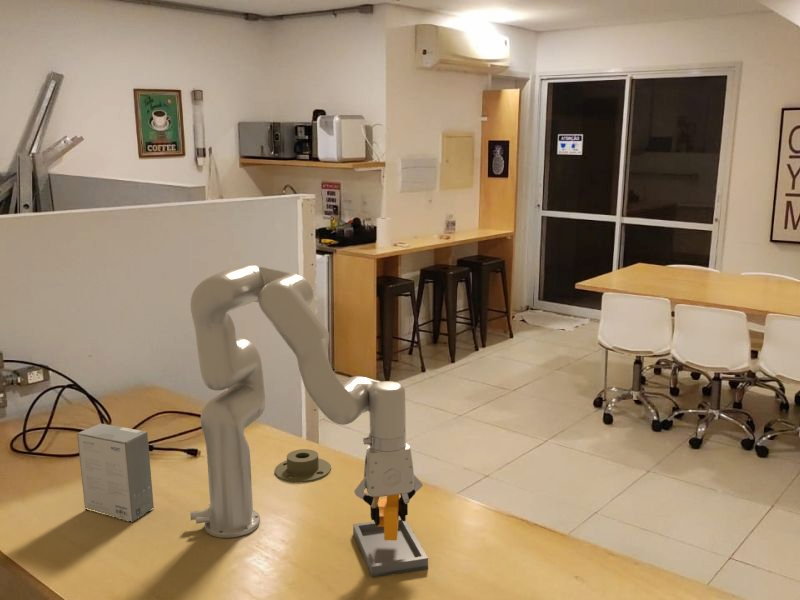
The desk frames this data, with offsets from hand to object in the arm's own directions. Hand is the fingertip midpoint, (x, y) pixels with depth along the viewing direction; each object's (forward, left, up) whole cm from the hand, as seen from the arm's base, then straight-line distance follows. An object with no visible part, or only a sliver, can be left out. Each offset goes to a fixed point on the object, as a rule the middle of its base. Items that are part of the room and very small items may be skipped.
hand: (389, 519), depth 161 cm
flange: (-12, +46, -8) cm, 48 cm away
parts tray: (0, 0, -7) cm, 7 cm away
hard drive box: (-58, +36, -8) cm, 69 cm away
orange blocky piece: (0, 0, -2) cm, 2 cm away
